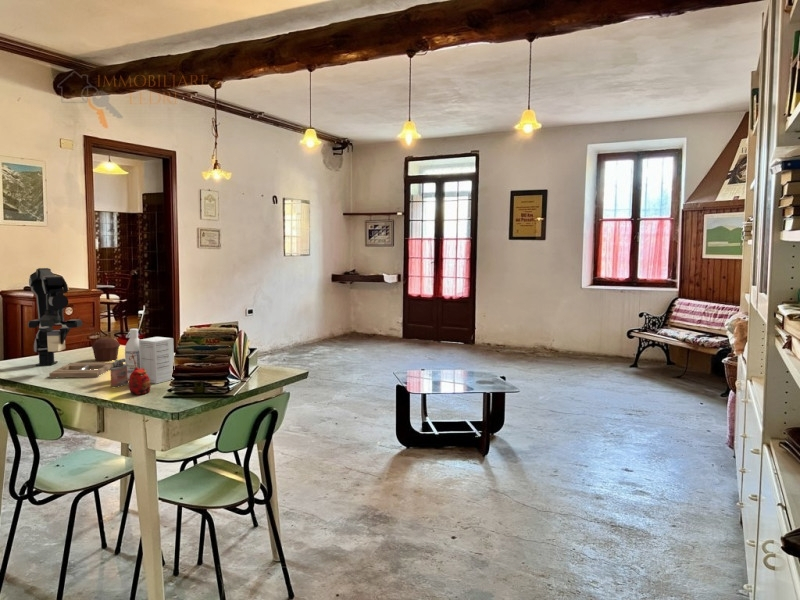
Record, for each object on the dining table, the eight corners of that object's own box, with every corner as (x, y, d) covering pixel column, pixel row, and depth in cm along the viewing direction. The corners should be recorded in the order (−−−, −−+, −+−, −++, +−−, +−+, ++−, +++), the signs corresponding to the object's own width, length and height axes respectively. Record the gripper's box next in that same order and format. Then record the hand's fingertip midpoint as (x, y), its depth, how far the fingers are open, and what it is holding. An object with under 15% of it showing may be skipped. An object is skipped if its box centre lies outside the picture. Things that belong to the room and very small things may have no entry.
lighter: (116, 388, 206) (115, 362, 205) (108, 387, 207) (107, 361, 206) (130, 382, 214) (129, 357, 213) (123, 382, 214) (122, 357, 213)
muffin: (88, 362, 247) (87, 341, 246) (96, 357, 258) (95, 336, 257) (117, 361, 250) (116, 340, 249) (123, 357, 261) (122, 336, 260)
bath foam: (144, 378, 221) (143, 329, 219) (125, 380, 218) (124, 330, 216) (144, 374, 227) (143, 327, 225) (126, 376, 224) (124, 328, 222)
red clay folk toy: (141, 396, 196) (140, 355, 194) (124, 395, 197) (122, 354, 195) (154, 390, 203) (153, 351, 202) (137, 389, 204) (136, 350, 203)
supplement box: (175, 379, 221) (174, 338, 219) (156, 384, 213) (155, 341, 211) (158, 376, 225) (157, 335, 223) (139, 381, 217) (138, 339, 215)
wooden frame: (70, 367, 238) (70, 362, 237) (114, 366, 240) (114, 362, 240) (49, 378, 219) (49, 373, 219) (97, 377, 222) (97, 372, 221)
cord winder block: (55, 348, 230) (54, 330, 229) (65, 348, 230) (64, 329, 229) (47, 351, 224) (46, 332, 223) (58, 351, 224) (57, 332, 223)
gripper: (19, 309, 216) (21, 347, 218) (69, 308, 218) (71, 347, 220) (34, 306, 227) (36, 343, 229) (82, 305, 229) (83, 342, 231)
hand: (56, 344), depth 227 cm, fingers closed on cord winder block, 4 cm apart
